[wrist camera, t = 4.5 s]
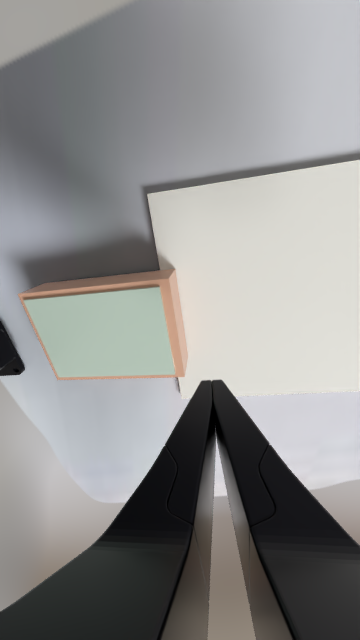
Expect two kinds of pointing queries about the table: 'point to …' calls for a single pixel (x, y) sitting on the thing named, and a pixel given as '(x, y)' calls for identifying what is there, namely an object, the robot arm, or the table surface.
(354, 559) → the robot arm
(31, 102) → the table surface
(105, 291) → the tile
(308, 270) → the mat
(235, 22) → the table surface
